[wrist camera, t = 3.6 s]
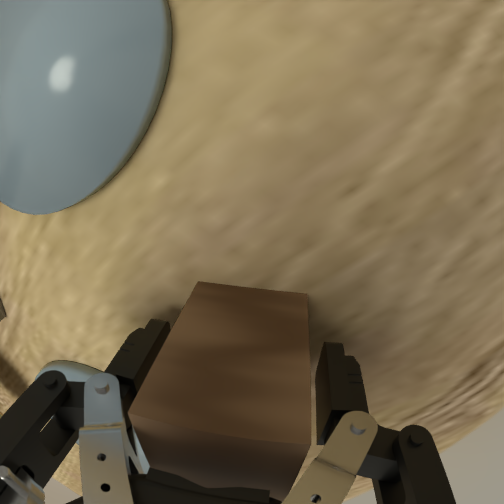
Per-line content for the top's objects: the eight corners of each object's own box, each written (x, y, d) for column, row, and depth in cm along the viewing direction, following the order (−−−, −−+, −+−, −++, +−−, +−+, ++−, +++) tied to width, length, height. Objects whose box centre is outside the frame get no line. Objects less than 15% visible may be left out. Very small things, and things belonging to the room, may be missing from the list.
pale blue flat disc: (189, -77, 7) (182, -88, 6) (166, 215, 12) (156, 223, 11) (-11, 2, 8) (-22, 1, 7) (-19, 205, 13) (-31, 210, 12)
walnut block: (307, 293, 13) (311, 444, 6) (292, 371, 14) (284, 502, 8) (198, 281, 13) (127, 412, 7) (201, 359, 15) (156, 481, 8)
